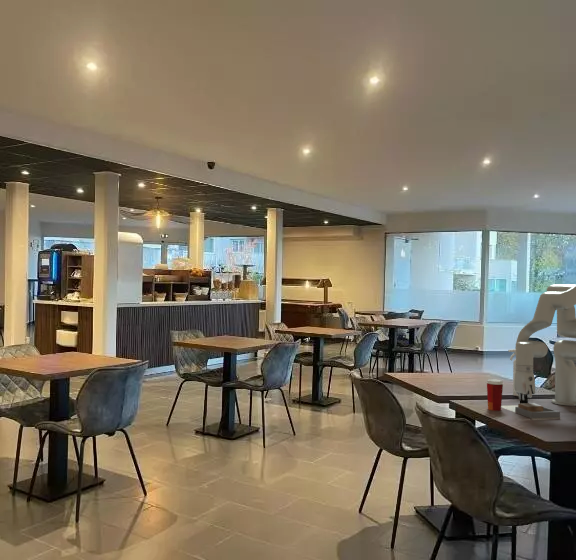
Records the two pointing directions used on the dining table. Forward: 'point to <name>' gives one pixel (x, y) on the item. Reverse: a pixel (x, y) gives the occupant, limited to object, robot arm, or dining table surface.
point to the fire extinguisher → (513, 369)
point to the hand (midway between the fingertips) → (523, 408)
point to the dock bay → (545, 414)
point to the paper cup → (494, 394)
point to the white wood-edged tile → (531, 407)
